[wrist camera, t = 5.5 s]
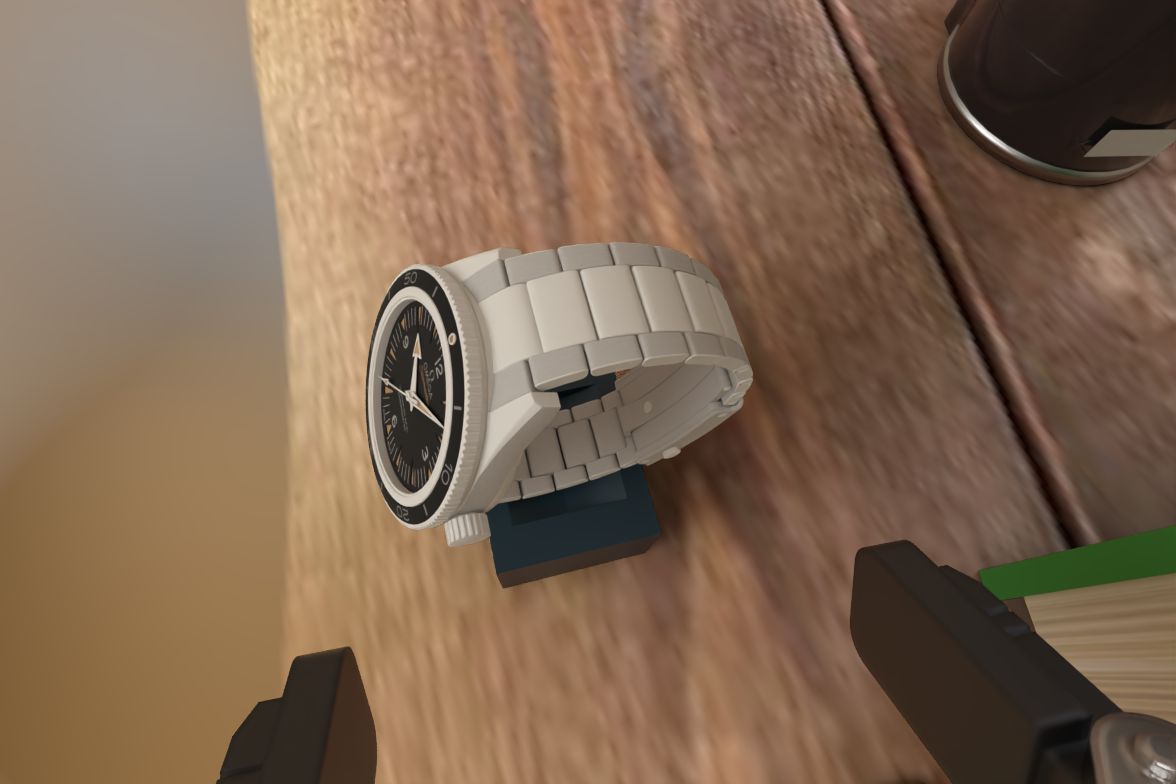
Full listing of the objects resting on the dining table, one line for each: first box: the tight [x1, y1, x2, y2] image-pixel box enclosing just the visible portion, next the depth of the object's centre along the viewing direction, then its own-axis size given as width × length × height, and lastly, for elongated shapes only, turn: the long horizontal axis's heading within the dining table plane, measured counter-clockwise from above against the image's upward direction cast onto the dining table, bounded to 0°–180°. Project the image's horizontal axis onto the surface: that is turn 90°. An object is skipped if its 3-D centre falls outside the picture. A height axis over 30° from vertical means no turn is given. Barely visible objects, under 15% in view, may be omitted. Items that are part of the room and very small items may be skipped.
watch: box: [366, 242, 753, 588], centre depth 16 cm, size 6×8×11 cm
